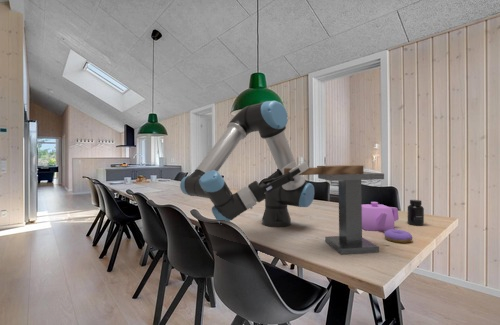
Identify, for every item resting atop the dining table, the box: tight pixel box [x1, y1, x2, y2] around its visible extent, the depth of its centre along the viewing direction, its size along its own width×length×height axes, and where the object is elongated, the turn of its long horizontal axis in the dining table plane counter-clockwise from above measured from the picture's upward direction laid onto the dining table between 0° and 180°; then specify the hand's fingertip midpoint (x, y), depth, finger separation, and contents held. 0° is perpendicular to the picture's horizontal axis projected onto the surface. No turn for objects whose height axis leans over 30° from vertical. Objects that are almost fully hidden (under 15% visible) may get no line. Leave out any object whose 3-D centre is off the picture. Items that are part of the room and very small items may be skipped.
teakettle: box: [362, 201, 400, 232], centre depth 121 cm, size 17×17×12 cm
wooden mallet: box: [284, 164, 365, 176], centre depth 94 cm, size 28×9×3 cm, turn 96°
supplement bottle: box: [407, 199, 425, 227], centre depth 125 cm, size 7×7×12 cm
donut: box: [383, 228, 413, 244], centre depth 102 cm, size 10×9×5 cm
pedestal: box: [317, 171, 385, 255], centre depth 95 cm, size 20×14×28 cm
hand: (300, 164), depth 93 cm, fingers open, 13 cm apart
